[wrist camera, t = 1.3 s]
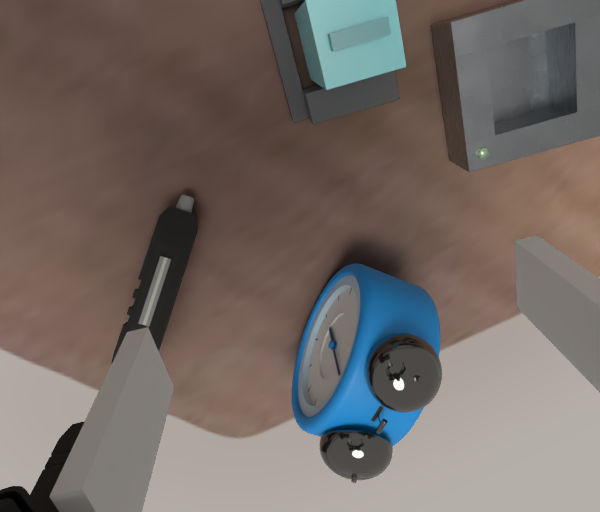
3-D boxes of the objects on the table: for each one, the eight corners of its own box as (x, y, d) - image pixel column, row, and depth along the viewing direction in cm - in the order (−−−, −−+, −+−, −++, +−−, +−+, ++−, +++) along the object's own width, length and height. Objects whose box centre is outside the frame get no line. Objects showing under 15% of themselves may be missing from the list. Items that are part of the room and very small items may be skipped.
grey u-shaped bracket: (255, -18, 32) (254, -27, 28) (359, -50, 31) (371, -63, 28) (292, 120, 35) (296, 129, 32) (385, 93, 35) (399, 99, 31)
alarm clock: (347, 235, 40) (391, 334, 26) (410, 260, 41) (484, 367, 27) (286, 356, 44) (295, 495, 30) (344, 375, 45) (379, 516, 32)
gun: (203, 215, 44) (206, 197, 34) (148, 385, 42) (135, 419, 32) (173, 205, 43) (167, 184, 33) (116, 378, 41) (93, 409, 32)
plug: (294, 13, 33) (306, -2, 23) (355, -5, 32) (395, -29, 22) (310, 79, 34) (328, 91, 24) (368, 62, 34) (410, 67, 24)
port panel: (430, 25, 33) (452, 22, 30) (569, -16, 33) (609, -25, 29) (449, 160, 37) (470, 172, 34) (573, 125, 37) (609, 134, 33)
